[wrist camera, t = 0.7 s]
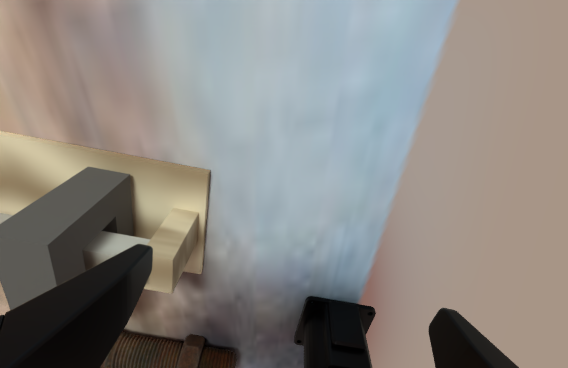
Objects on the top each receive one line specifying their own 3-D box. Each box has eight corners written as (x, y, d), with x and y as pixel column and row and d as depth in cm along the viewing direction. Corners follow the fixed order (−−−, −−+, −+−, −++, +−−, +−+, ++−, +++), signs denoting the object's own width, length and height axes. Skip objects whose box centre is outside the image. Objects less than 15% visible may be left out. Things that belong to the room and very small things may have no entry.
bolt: (238, 338, 34) (103, 316, 33) (242, 334, 30) (86, 309, 29) (227, 401, 31) (76, 380, 30) (229, 406, 27) (53, 381, 26)
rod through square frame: (202, 269, 27) (177, 330, 22) (-98, 217, 26) (-205, 268, 20) (210, 170, 22) (181, 216, 17) (-155, 101, 21) (-312, 127, 16)
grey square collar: (135, 258, 25) (71, 347, 18) (99, 251, 25) (20, 339, 18) (130, 174, 22) (47, 245, 15) (88, 166, 22) (-16, 234, 14)
